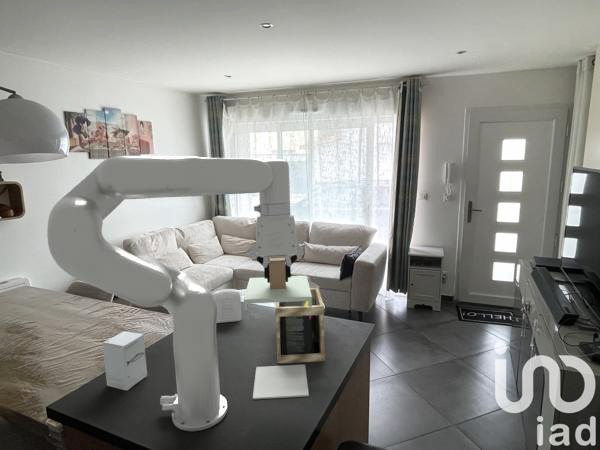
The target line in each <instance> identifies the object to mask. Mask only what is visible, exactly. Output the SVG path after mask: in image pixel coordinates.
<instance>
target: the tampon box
mask: <svg viewBox="0 0 600 450" xmlns="http://www.w3.org/2000/svg"><path fill="white" fill-rule="evenodd" d="M292 306H309V303H308V301H294V302H286V304H285V305H284V307H292ZM312 306H315V300H312ZM281 337H282V339H281V355H295V354H314V351H315V348H316V344H317V338H316V315H306V316H283V317H281Z"/></svg>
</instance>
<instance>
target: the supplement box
mask: <svg viewBox="0 0 600 450" xmlns="http://www.w3.org/2000/svg"><path fill="white" fill-rule="evenodd" d="M102 351H103V360H104V368H105V378H106V386H108V387H111V388H115V389H119V390H121V391H122V390H123V391H129V390H130V389H131V388H133V387H134V386H135V385H136V384H138V383H139V382H140V381H142V380H144V379H145V378H146V377H147V376H148V370H147V368H148V367H147V357H146V349H145V338H144V334H143V333H137V332H133V331H132V332H130V331H122V332H120V333H118V334H117V335H115V336H112V337H111V338H108V339H107V340H105V341H104V342H102Z"/></svg>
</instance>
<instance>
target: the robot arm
mask: <svg viewBox="0 0 600 450" xmlns="http://www.w3.org/2000/svg"><path fill="white" fill-rule="evenodd" d="M243 194H258V195H259V204H258V205H253V206H254V207H253V211H254V212H258V213H259V215H257V217H256V222H255V223H256V225H255V243H254V246H253V247H252V248H251V250H250V252H249V255H248V256H249V257H250V258H252V259H253V260H255V261H257V262H258V263H259V264H260V265H261V266H262V267H263V274H264V277H265V279H267V283H269V282H270V274H269V259H270V257H284V258H285V274H286V282H288V278H291V273H292V271H291V269H292V268H291V266H292V265H293V264H294V263H295V262H296V261H297V260H298V259H299V258H300V257H302V256H304V255H305V251H304V249H303V248H302V247H301V245H300V243H299V242H298V240H297V238H298V237H297V227H296V221H295V216H294V215H293V214H291V191H290V165H289V162H288V161H287V160H286V159H264V160H263V159H261V158H257V157H256V158H255V157H253V158H251V157H250V158H248V157H247V158H246V157H245V158H244V157H231V158H230V157H202V156H201V157H200V156H191V155H190V156H189V155H186V156H185V155H183V156H181V155H173V156H172V155H171V156H170V155H116V156H111V157H108V158H106V159H105V160H103V161H101V162H100V163H99V164H98V165H97V166H96V167H95V168H94V169H93V170H92V171H91V172H90V173H89V174H88V175H87V176H86V177H84V179H82V180H81V181H79V183H77V185H75V186H74V187H73V188H72V189H71V190H70V191H69V192H66V194H65V195H64V196H62V197H61V198H60V199H59V200H58V201H57V202H56V203H55V204H54V205H53V207H52V209H51V210H50V213H49V216H48V221H47V234H46V235H47V245H48V249H49V253H50V255H51V257H52V259H53V260H54V262H55V263H56V265H58V267H59V268H60V269H61V270H63V271H64V273H66V274H68V275H69V276H71V277H73V278H75V279H77V280H79V281H81V282H83V283H85V284H87V285H91V286H93V287H94V288H97V289H100V290H101V291H104V292H106V293H108V294H110V295H113V296H116V297H119V298H121V299H122V300H124V301H127V302H130V303H132V304H134V305H135V306H139V307H141V308H143V307H144V308H155V307H162V308H164V309H166V310H167V311H168V313H169V315H170V316H171V319H172V327H173V329H172V330H173V331H172V348H173V349H172V351H173V357H174V358H173V359H174V369H175V381H176V392H177V393H175V394H174V395H161V396H160V399H159V402H160V403H159V405H160V406H162V407H161V409H162V411H172V413H171V418H172V419H171V420H172V423H173V425H174V426H175V427H176V428H177V429H179V430H181V431H182V430H183V431H186V432H197V431H203V430H206V429H210V428H212V427H213V426H215V425H217V424H218V423H219V422H221V421H222V420H223V419H224V418H225V416H226V414H227V413H228V401H227V399H226V397H224V396H223V395H222V394H221V389H220V375H219V374H220V372H219V357H218V346H217V345H218V343H217V324H218V323H217V303H216V300H215V297H214V293H213V292H212V291H211V290H210V289H209V288H208V287H206V285H205V284H203V283H201V282H200V281H199V280H197V279H196V278H195V277H193V276H191V275H190V274H189V273H186V272H183V271H182V270H179V269H178V268H176V267H174V266H173V265H169V264H168V263H165V262H163V261H162V260H160V259H158V258H156V257H153V256H151V255H146V254H139V255H134V254H133V253H131V252H128V251H127V250H125V249H123V248H120V247H119V246H117V245H114V244H113V243H112V244H111V243H110V242H108V241H107V240H106V238H104V235H103V224H104V223H103V222H104V220H105V219H106V218H107V217H108V216H109V215H110V214H111V213H112V212H113V211H115V209H116V208H118V207H119V206H120V204H121V203H122V202H124V200H141V199H142V200H145V199H159V198H161V199H162V198H185V197H203V196H212V195H213V196H215V195H217V196H218V195H243Z"/></svg>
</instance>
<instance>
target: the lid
mask: <svg viewBox="0 0 600 450" xmlns="http://www.w3.org/2000/svg"><path fill="white" fill-rule="evenodd" d="M268 263H269V274H270V282H269V283H267V279H265V276H264V277H249V280H248V283H247V287H246V289H245V293H244V298H243V306H244V307H243V308H244V311H246V310H248V308H249V304H269V303H271V304H272V303H276V302H294V301H308V303H309V307H312V295H311V291H310V287H309V283H308V279H307V277H308V276H307V275H301V276H291V278H288V282H286V274H285V265H286V259H285V257H276V258H269V259H268Z"/></svg>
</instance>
